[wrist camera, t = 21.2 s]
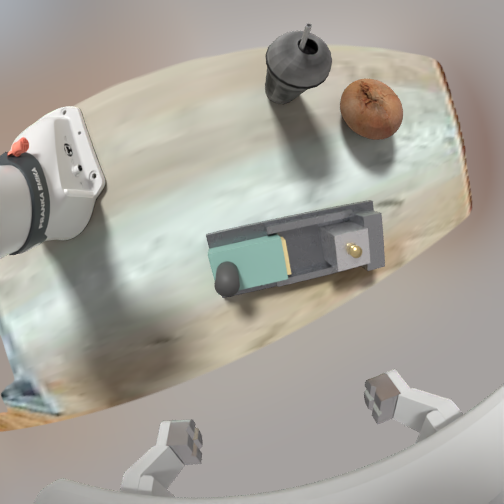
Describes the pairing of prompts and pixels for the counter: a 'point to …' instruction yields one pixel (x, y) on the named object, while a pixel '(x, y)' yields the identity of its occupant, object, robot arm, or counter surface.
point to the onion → (371, 109)
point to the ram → (249, 264)
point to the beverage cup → (296, 65)
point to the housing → (345, 245)
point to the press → (309, 239)
